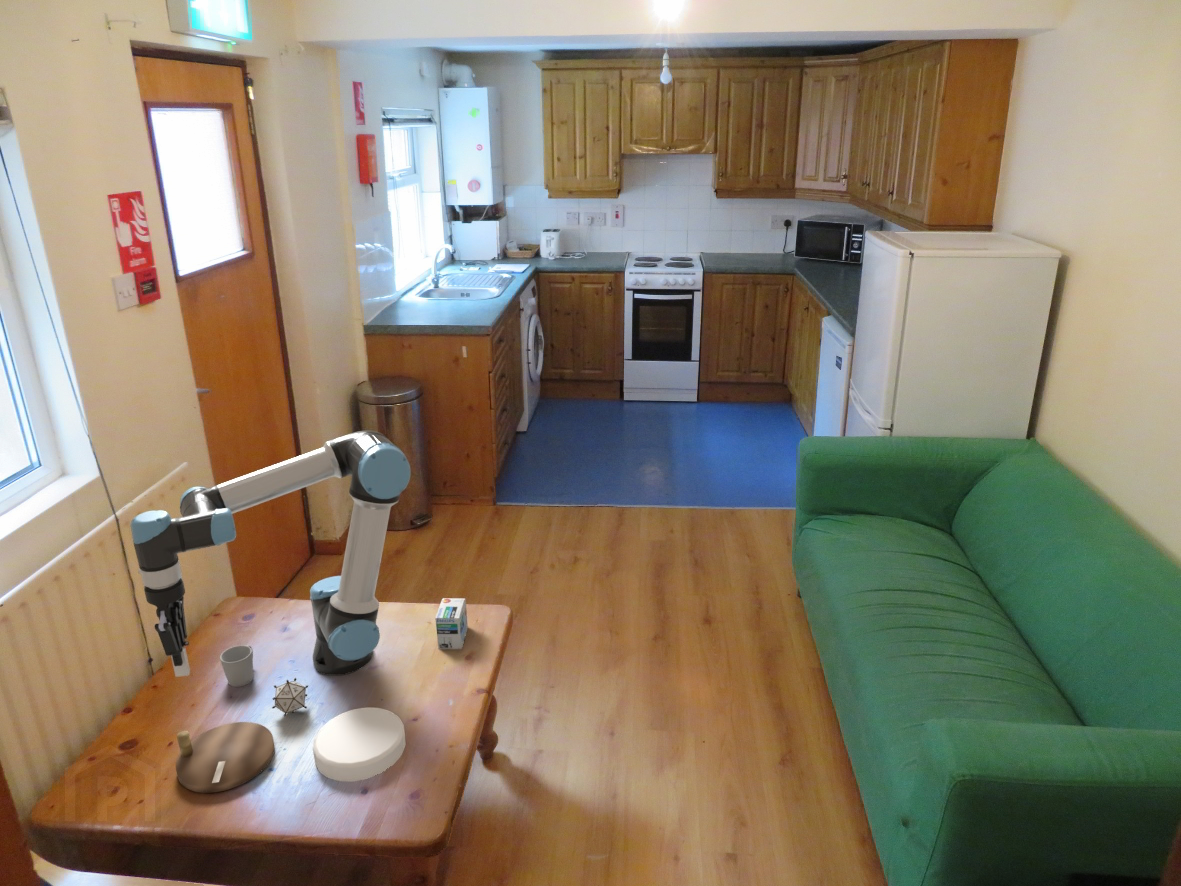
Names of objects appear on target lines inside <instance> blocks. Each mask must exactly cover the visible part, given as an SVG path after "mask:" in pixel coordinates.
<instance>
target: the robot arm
mask: <svg viewBox="0 0 1181 886" xmlns="http://www.w3.org/2000/svg"><path fill="white" fill-rule="evenodd" d="M411 475H412V472H411V464H410V463H409V460H408V458H407V456H406V455H405V453H404V452H403V450H402V449H400V448H399V447H398V446H396V445H395V444H394V443H393V442H391V440H390V439H389V437H387V436H386V435H384V434H383V433H381V432H378V431H376V430H370V429H369V430H360V431H355V432H351V433H347V434H345V435H342V436H338V437H336V438H333V439H330V440H327V441H325V442H324V444H323V446H322V447H320V448H317V449H314V450H311V451H309V452H306V453H303V454H300V455H298V456H296V457H295V456H294V457H292V458H290V459H287V460H283V461H281V462H278V463H276V464H272V465H270V466H267V467H264V468H262V469H258V470H256V471H253V472H250V473H247V474H244V475H242V476H239V477H235V478H233V479H230V480H228V481H225V482H222V483H220V484H217V485H213V486H210V487H208V488H207V487H204V486H193V487H190V488H189V489H187V490H185V491H184V492H183V494H182V495H181V498H180V501H179V503H180V504H179V509H180V514H181V516H180V517H174V518H172V517H171V516H170V513H168V511H165V510H162V509H159V510H148V511H143V512H141V513H140V514H137V515H136V516H134V517H133V519H132V520H131V522H130V531H131V536H132V543H133V547H134V550H135V555H136V560H137V564H138V567H139V569H138V570H137V571H138V572H137V573H138V574H140V575H141V581H142V585H143V586H144V587H143V591H144V595H145V598H146V599H145V600H146V602H147V603H148V604H150V605H152V606H155V607H156V610H155V611H156V612H155V614H156V616H157V618H158V621H159V622H158V623H155V624H154V629H155V631H156V633H157V634H158V636H159V641H160V642H161V644H162V649H163V650H164V654H165V656H167V657H169V656H170V658H171V662H172V667H173V672H174V675H175V676H174V677H175V678H178V677H187V676H189V675H190V674H191V668H190V664H189V658H188V654H187V650H186V646H189V645H190V640H187V638H188V634H187V633H188V632H187V626H186V615H185V608H184V605H185V603H184V598H185V597H184V595H185V594H186V589H185V583H184V579H183V573H182V568H181V564H180V560H179V556H178V554H181V553H182V554H183V553H186V552H190V551H195V550H200V549H204V548H210V547H215V546H220V545H223V544H226V543H230V542H233V541H235V540H236V538H237V531H236V530H237V529H236V525H235V520H234V516H233V514H236V513H237V512H241V511H244V510H247V509H249V508H252V507H255V506H258V505H260V504H262V503H265V502H269V501H270V500H273V499H277V498H279V497H282V496H284V495H287V494H290V493H293V492H296V491H298V490H300V489H304V488H306V487H310V486H311V485H314V484H318V483H320V482H322V481H325V480H327V479H331V478H333V477H335V478H338V479H343V478H345V477H348V476H351V478H350V486H349V491H348V495H349V497H351V499H352V500H353V504H352V505H353V507H352V512H351V516H350V522H349V527H348V528H349V529H348V534H347V539H346V544H345V545H346V546H345V551H344V557H343V561H342V568H341V573H340V575H334V576H329V577H326V578H323V579H320V580H319V581H317V582H315V583H314V584H313V585H312V586H311V588H310V589H309V593H310V597H309V600H310V602H311V609H312V614H313V622H314V629H315V635H316V640H315V642H314V649H313V652H312V662H313V667H314V670H316V671H317V672H319V673H320V674H322V675H328V676H341V675H342V676H343V675H348V674H351V673H355V672H357V671H358V670H360V669H362V668H363V667H365V666H367V664H368V663H370V661H371V660H372V657H373V653H374V650H375V649H376V647H377V646H378V644H379V641H380V636H381V633H380V629H379V626H378V625H377V619H378V613H379V608H380V602H379V600H378V599H377V598H376V597H375V593H376V588H377V584H378V578H379V573H380V568H381V562H382V557H383V551H384V546H385V541H386V534H387V530H388V525H389V519H390V513H391V508H392V506H394V505H396V504H398V503H399V500H400V495H401V493H402V492H403V491H405V489H406V488H407V487H408V484H409V483H410V479H411Z"/></svg>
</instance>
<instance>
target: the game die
mask: <svg viewBox="0 0 1181 886" xmlns="http://www.w3.org/2000/svg"><path fill="white" fill-rule="evenodd" d="M273 687H274V689H275V697H273V698H272V700H273V701H274V705H272V707H271V709H275V708H276V709H278V710H280V711H281V712H283V716H284V718H285V717H286V716H287V714H289V713H291V714H294V713H295V711H298V710H300V709H302V708H304V709H308V706H306V698H307V696H308V694H307V693H306V692H307V691H306V689H307V688H308V687H309V685H305V686H304V685H302V684H301V683H300V682H297V678H296V677H294V679H293V680H292V681H290V680H289V679H287V680H286V683H283V684H281V685H279V686H277V685H275V684H274V685H273Z"/></svg>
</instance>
